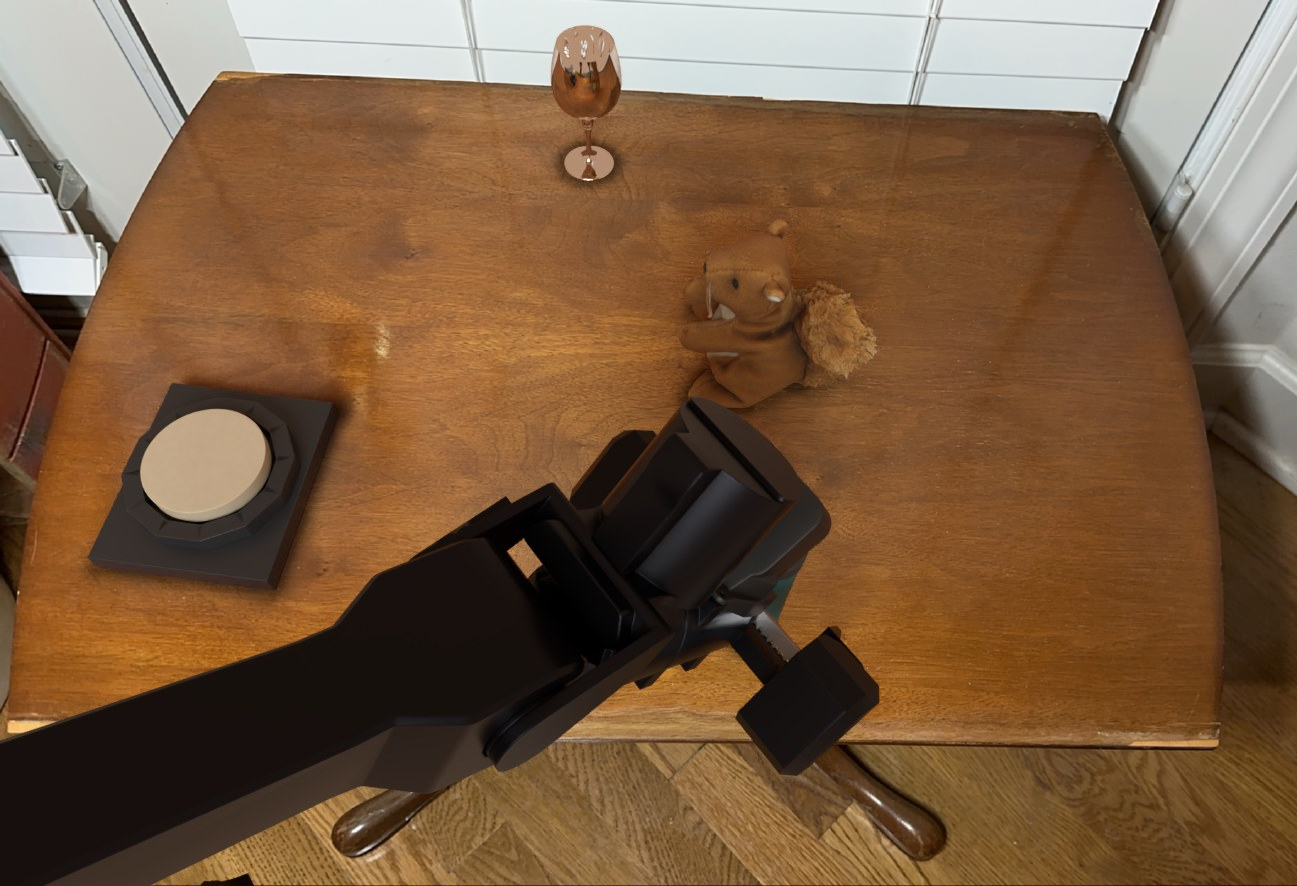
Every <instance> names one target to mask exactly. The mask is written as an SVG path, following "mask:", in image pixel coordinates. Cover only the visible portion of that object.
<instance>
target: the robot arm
mask: <svg viewBox="0 0 1297 886" xmlns="http://www.w3.org/2000/svg"><path fill="white" fill-rule="evenodd" d="M831 528H832V517H831V513H830V512H829V511H828V509H827V508H826V507H825V505H824V504H823V502H822V501H821V499H820V498H819V497H818V496H817V494H816V493H815V492H814V491H813V490H812V489H811V488H810V487H809V486H808V485H807V484H806V483H805V482H804V481H803V480H802V478H801V477H799V475H798V473H797V472H796V470H795V469H794V467H793V465H792V464H791V462H790V461H789V460H788V459H787V458H786V457H785V456H784V454H783V453H782V452H781V451H780V449H779V448H778V447H777V446H776V445H774V443H773V442H772V441H771V440H770V439H768V437H766V436H765V435H764V434H763V433H762V432H760V430H759V429H758V428H756V427H755V426H753V425H752V424H751V423H749V422H748V421H747V420H746V419H745V418H743V417H742V416H740V415H738V414H737V413H735V412H734V411H733V410H731V409H730V408H725V407H724V406H722V405H720V404H718V403H716V402H713V401H711V400H709V399H705V398H702V397H693V396H692V397H691V398H690V399H689V398H688V400H686V401H684V402H682V403H681V404H680V406H678V408H677V409H676V410H675V412H674V413H673V414H672V415H671V417H670V418H669V419H668V420H667V422H666V423H665V424H664V425H663V427H662V428H661V429H660V430H659V431H658V433H656V432H655V431H654V430H653V429H652V430H651V429H624V430H623V431H621V432H620V433H618V434H617V435H615V436H613V437H612V438H611V439H610V440H609V441H608V443H607V444H606V445H605V446H604V447H603V449H602V450H601V452H600V453H599V454H598V455H597V457H596V458H595V459H594V460H593V462H592V463H591V464H590V466H589V467H588V468H587V470H586V471H585V472H584V474H583V475H582V476H581V477H580V479H579V480H578V481H577V482H576V484H575V485H574V486H573V487H572V489H571V492H570V497H569V499H568V497H567V495H565V494H564V492H563V491H562V490H561V489H560V487H559V486H558V485H557V484H556V482H554V481H551V482H548V483H546V484H544V485H542V486H540V487H539V488H537V489H535V490H533V491H531V492H529V493H527V494H525V495H524V496H522V497H520V498H518V499H515V500H514V501H511V500H510V499H509V498H508V496H507V495H506V496H504V497H502V498H500V499H498V500H497V501H496V502H494V503H493V504H491V505H490V506H488V507H487V508H485V509H483V510H481V512H479V513H478V514H475V516H473V517H471V518H470V519H468V520H467V521H465V522H464V523H462V524H461V525H459V526H457V527H456V528H454V529H453V530H451V531H449V532H448V533H447V534H445V535H444V536H442V537H440V538H439V539H437V540H436V541H434V542H432V543H431V544H429V545H428V546H427V547H425V548H423V549H422V550H420V551H419V552H417V553H416V554H415V555H413V556H412V557H411V558H410V559H408V560H407V561H404V562H402V563H399V564H397V565H395V566H392V567H390V568H387V569H385V570H383V571H379V572H378V573H376V574H374V575H373V576H372V577H371V578H370V579H369V580H368V581H367V582H366V583H365V585H364V586H363V587H362V589H360V591H359V592H358V593H357V594H356V596H355V597H354V598H353V600H352V601H351V602H350V603H349V605H348V606H347V607H346V609H344V611H343V612H342V614H340V615H339V617H338V619H337V620H336V621H335V622H334V623H333V624H332V625H331V626H328V627H326V628H324V629H322V630H319V631H317V632H314V633H312V634H310V635H307V636H305V637H302V638H301V639H298V640H295V641H293V642H289V643H287V644H284V645H280V646H278V647H275V648H272V649H269V650H265V651H263V652H260V653H257V654H254V655H251V656H248V657H245V658H242V659H239V660H236V661H233V662H230V663H227V664H224V665H221V666H218V667H215V668H212V669H209V670H206V671H203V672H201V673H197V674H194V675H191V676H188V677H186V678H182V679H180V680H176V681H173V682H171V683H167V684H165V685H161V686H158V687H156V688H155V687H154V688H152V689H149V690H147V691H146V690H145V691H144V692H140V693H137V694H134V695H132V696H128V697H125V698H122V699H120V700H117V701H113V702H111V703H107V704H105V705H102V706H99V707H95V708H93V709H89V710H87V711H84V712H81V713H77V714H74V715H72V716H69V717H66V718H63V719H60V720H56V721H54V722H51V723H48V724H45V725H43V726H39V727H36V728H33V729H30V730H27V731H24V732H20V733H18V734H15V735H12V736H9V737H5V738H2V739H1V740H0V886H153V885H154V884H157V883H159V882H160V881H162V880H165V879H167V878H169V877H172V876H173V875H175V874H177V873H179V872H181V871H183V870H186V869H188V868H190V867H192V866H194V865H195V864H198V863H200V862H202V861H204V860H206V859H208V858H210V857H212V856H214V855H216V854H218V853H221V852H223V851H224V850H227V849H229V848H231V847H233V846H235V845H238V844H239V843H241V842H243V841H246V840H248V839H250V838H252V837H254V836H256V835H258V834H260V833H263V832H264V831H266V830H269V829H270V828H273V827H275V826H277V825H278V824H280V823H283V822H286V821H287V820H290V819H291V818H293V817H295V816H297V815H300V814H301V813H304V812H306V811H308V810H310V809H312V808H314V807H316V806H318V805H320V804H322V803H324V802H327V801H329V800H331V799H333V798H337V797H339V796H341V795H343V794H345V793H348V792H350V791H353V790H355V789H357V788H360V787H366V788H374V789H382V790H388V791H389V790H390V791H396V792H397V791H398V792H404V793H413V794H421V795H424V794H425V795H426V794H427V795H429V794H432V793H434V792H438V791H440V790H443V789H444V788H447V787H449V786H451V785H453V784H455V783H457V782H460V781H462V780H464V779H467V778H468V777H471V776H473V775H475V774H477V773H480V772H482V771H484V770H486V769H489V768H490V767H494V768H495V770H496V771H497V772H498V773H505V772H508V771H510V770H513V769H515V768H517V767H519V766H521V765H523V764H525V763H527V762H528V761H530V760H531V759H533V758H535V757H536V756H538V755H539V754H540V753H542V752H543V751H544V750H546V749H547V748H549V747H550V746H551V745H552V744H553V743H555V742H556V741H557V740H559V739H560V738H561V737H562V736H564V734H566V733H567V732H568V731H570V730H571V729H572V728H574V726H576V725H577V724H579V722H580V721H581V722H582V720H583V719H585V718H586V717H587V716H588V715H589V714H590V713H592V712H593V711H594V710H596V709H597V708H598V707H599V706H600V705H602V704H603V703H604V702H606V701H607V700H608V699H609V698H611V697H612V696H613V695H614V694H616V692H618V691H619V690H620V689H621V688H623V687H624V686H626V685H630V684H631V683H634V684H635V686H636V687H637V688H638V689H639V691H641V690H644V689H646V688H649V687H651V686H653V685H654V684H655V683H656V681H657V680H658V679H660V677H661V676H662V675H663V674H664V673H665V672H666V671H668V670H669V669H672V668H674V667H676V666H680V667H681V668H682V669H683V671H684V672H686V673H687V672H689V671H692V670H694V669H696V668H698V667H699V665H701V663H703V661H704V660H705V659H706V658H707V657H708V656H709V655H710V654H712V653H713V652H716V651H719V650H721V649H724V648H726V647H729V646H730V647H731V648H732V649H733V650H734V651H735V653H736V654H737V655H738V656H739V657H740V658H741V660H742V661H743V663H744V664H746V666H747V667H748V668H749V670H751V673H753V674H754V676H755V677H756V678H757V679H758V681H760V683H761V684H762V685H763V686H762V687H761V688H760V689H759V690H758V691H757V692H756V693H755V694H754V695H753V696H751V698H750V699H749V700H748V701H747V702H746V703H745V704H744V705H743V706H741V708H740V709H739V710H738V711H737V712H736V715H735V716H734V719H735V720H736V722H737V723H738V724H739V726H740V727H741V728H742V729H743V731H745V733H746V734H747V735H748V737H749V738H750V740H752V742H753V743H754V744H755V745H756V747H757V748H758V749H759V751H760V752H761V753H762V755H764V757H765V758H766V759H767V761H768V762H769V764H771V766H772V767H773V768H774V770H775V771H776V772H777V773H778V775H781V776H790V777H791V776H792V777H798V776H799V775H800V774H802V773H804V771H806V770H807V769H809V768H810V767H811V766H813V764H814V763H816V762H817V761H818V760H819V759H820V758H822V756H823V755H825V753H827V752H828V751H829V750H830V749H831V748H832V747H833V746H834V745H836V743H837V742H839V741H840V740H841V739H842V738H843V737H844V736H845V735H846V734H847V733H849V731H851V730H852V729H853V728H854V727H855V726H856V725H858V723H860V721H862V720H863V719H864V718H866V716H867V715H868V714H869V713H870V712H871V711H872V710H874V709H875V708H876V707H877V706H878V705H879V704H880V703H881V701H880V700H881V699H880V685H879V684H878V683H877V682H876V680H875V679H874V678H873V677H872V676H871V674H869V672H867V670H866V669H865V667H864V665H863V663H862V661H861V660H860V659H859V658H858V657H857V656H856V655H855V654H854V652H852V650H851V649H850V648H849V647H848V646H847V645H846V644H845V642H844V641H843V640H842V638H841V636H842V629H841V628H840V627H839V626H838V625H832V626H827V627H826V628H825V629H824V630H823V631H822V632H821V633H820V634H819V635H818V636H816V637H815V638H814V639H813V640H812V641H810V642H809V643H808V644H806V645H805V646H804V647H802V648H800V647H799V646H798V645H797V643H796V642H795V641H794V640H793V639H792V638H791V637H790V635H789V634H788V633H787V632H786V631H785V630H784V629H783V627H782V626H781V625H780V624H779V622H778V621H777V622H776V620H775V619H774V618H773V617H772V616H771V615H770V613H769V612H768V611H767V610H766V608H767V607H768V606H769V605H770V604H771V603H772V602H773V601H774V600H775V599H776V598H777V597H778V596H777V595H776V593H775V592H774V591H773V588H774V587H775V586H776V585H777V584H778V578H780V577H781V576H782V575H783V574H784V573H785V572H787V571H788V570H789V569H790V568H791V567H792V566H793V565H794V564H795V563H797V562H798V561H799V560H800V559H801V558H802V557H803V556H804V555H805V554H807V553H808V554H809V552H810V551H811V550H813V549H814V547H816V546H818V545H819V544H820V543H822V541H824V540H825V539H826V538H827V537H828V536H829V534H830V531H831V530H832V529H831ZM523 540H524V542H525V543H526V545H527V546H528V548H529V549H530V550H531V552H532V553H533V554H534V556H535V557H536V558H537V559H538V561H539V562H540V563H541V565H539V566H538V567H536V569H535V570H533V572H531V573H530V574H529V576H528V577H527V576H526V573H524V572H523V570H522V569H521V567H520V566H519V565H518V563H517V561H515V559H514V558H513V557H512V555H511V554H510V553H509V550H511V549H512V548H513V547H515V546H517V545H518V544H519V543H520V542H522V541H523ZM808 554H807V555H808ZM751 617H752V618H751ZM755 622H756V623H757V624H755ZM760 628H761V629H762V631H761V630H760ZM766 634H767V637H766V636H765V635H766ZM197 886H255V883H254V882H253V880H252V878H251V876H250V873H249V872H247V873H244V874H241V875H239V876H236V877H233V878H230V879H225V880H219V879H216V880H215V879H212V880H203V881H202V882H201V883H200V884H198V885H197Z"/></svg>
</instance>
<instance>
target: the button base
mask: <svg viewBox="0 0 1297 886" xmlns="http://www.w3.org/2000/svg"><path fill="white" fill-rule="evenodd" d="M208 409H226V410H231V411H235V412H238V413H241V414H243V415H245V416H247V417H248V418H250V419H251V420H252V421H254V422H255V423H256V424H257V426H258V427H259V428H260V430H261V431H262V433H263V434H264V436H265V438H266V439H267V441H268V443H269V446H270V449H271V454H272V463H271V469H270V473H269V476H268V478H267V480H266V482H265V484H264V485H263V487H262V489H261V490H260V491H259V492H258V494H257V495H256V496H255V497H254V498H253V499H252V500H251V501H250V502H248V503H247V504H246V505H245V506H243V507H242V508H240V509H239V510H237V511H235V512H233V513H231V514H229V515H227V516H224V517H222V518H218V519H215V520H210V521H201V522H193V521H185V520H180V519H177V518H174V517H172V516H170V515H168V514H166V513H165V512H163V511H162V510H161V509H160V508H159V507H158V506H157V505H156V504H155V503H154V502H153V501H152V500H151V499H150V498H149V496H148V495H147V493H146V492H145V490H144V488H143V486H142V482H141V474H140V471H141V463H142V459H143V456H144V454H145V452H146V450H147V448H148V446H149V445H150V443H151V442H152V440H153V439H154V438H155V437H156V436H157V435H158V434H159V433H160V432H161V431H162V430H163V429H164V428H165V427H167V426H168V425H169V424H171V423H172V422H174V421H176V420H177V419H179V418H181V417H183V416H186V415H188V414H191V413H194V412H198V411H202V410H208ZM338 416H339V412H338V411H337V408H336V406H335V404H334V402H332V401H326V400H325V401H324V400H315V399H309V398H300V397H299V398H298V397H290V396H283V395H274V394H267V393H258V392H251V391H241V390H233V389H227V388H226V389H225V388H218V387H209V386H202V385H193V384H184V383H176V382H172V383H171V384H170V386H169V388H168V390H167V392H166V395H165V396H164V398H163V400H162V402H161V404H160V406H159V408H158V411H157V413H156V415H155V417H154V419H153V421H152V423H151V425H150V427H149V429H148V430H147V431H146V432H145V433H143V434H142V435H141V436H140V437H139V438H138V440H137V442H136V443H135V445H134V447H133V450H132V452H131V454H130V456H129V458H128V460H127V461H126V464H125V466H124V468H123V470H122V473H121V474H120V476H121V484H122V485H121V487H120V489H119V491H118V493H117V495H116V498H115V500H114V501H113V503H112V505H111V507H110V509H109V512H108V514H107V515H106V518H105V520H104V522H103V524H102V527H100V531H99V533H98V535H97V537H96V539H95V540H94V543H93V544H92V547H91V549H90V551H89V553H88V556H87V559H88V560H89V561H90V562H92V563H93V564H94V565H95V566H96V567H97V568H99V569H100V568H101V569H108V570H114V571H124V572H129V573H130V572H131V573H137V574H147V575H152V576H162V577H168V578H176V579H184V580H192V581H199V582H207V583H214V584H222V585H229V586H237V587H244V588H252V589H261V590H269V591H275V590H276V588H277V585H278V583H279V580H280V577H281V574H282V571H283V568H284V566H285V563H286V560H287V558H288V555H289V552H290V549H291V547H292V543H293V541H294V538H295V535H296V532H297V530H298V527H299V524H300V521H301V519H302V516H303V514H304V511H305V508H306V504H307V502H308V499H309V497H310V494H311V491H312V488H313V485H314V484H315V480H316V477H317V474H318V471H319V469H320V466H321V463H322V461H323V457H324V456H325V452H326V449H327V447H328V444H329V441H330V439H331V435H332V433H333V430H334V427H335V424H336V422H337V419H338Z"/></svg>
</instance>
